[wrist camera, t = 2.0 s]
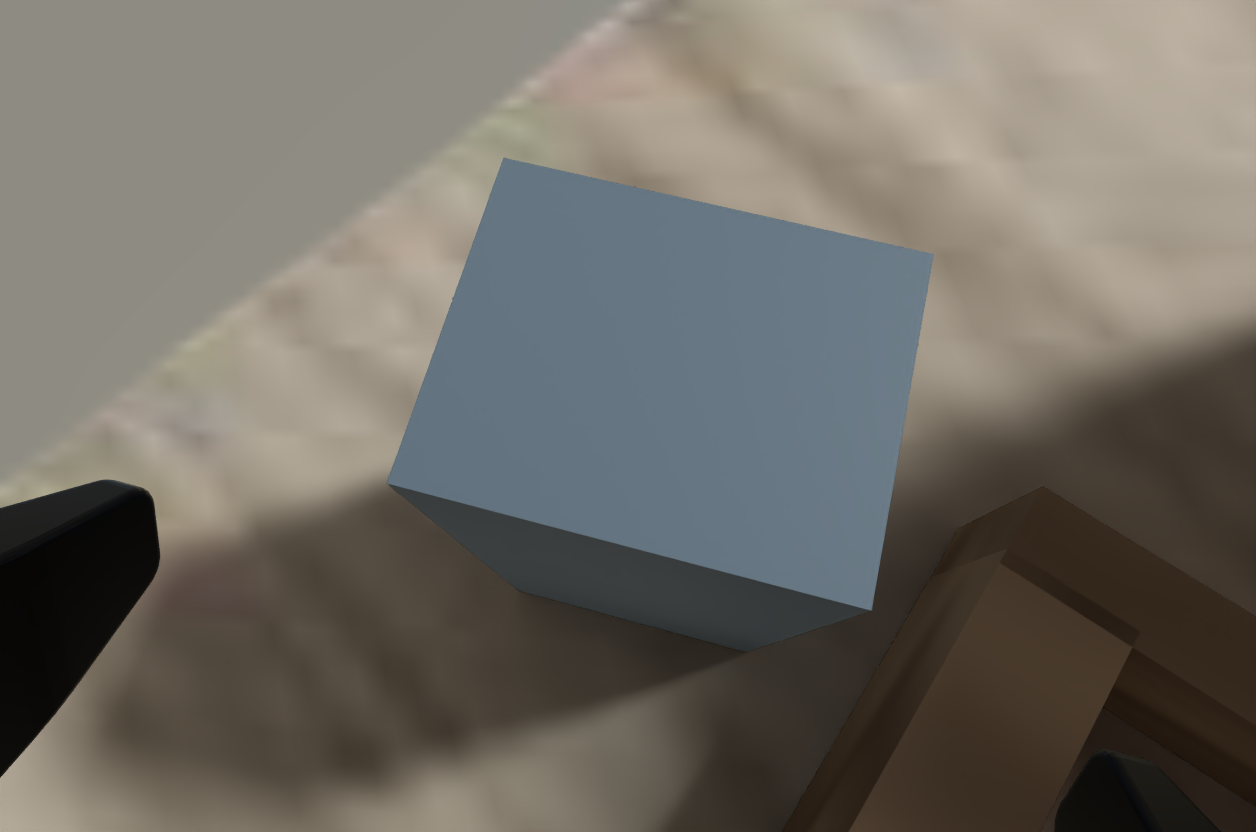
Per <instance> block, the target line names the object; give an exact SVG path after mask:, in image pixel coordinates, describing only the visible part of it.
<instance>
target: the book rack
mask: <svg viewBox="0 0 1256 832" xmlns="http://www.w3.org/2000/svg"><path fill="white" fill-rule="evenodd" d="M1102 707H1105V708H1106V709H1108V710H1109V711H1111V712H1112V713H1114V714H1115V715H1117V716H1118V717H1120V718H1121V719H1123V720H1124V721H1126V722H1128V723H1129V724H1131V725H1132V726H1134V727H1135V728H1137V729H1138V730H1140V731H1141V732H1143V733H1144V734H1146V735H1147V736H1149V737H1150V738H1152V739H1154V740H1155V741H1157V742H1158V743H1160V744H1161V745H1163V746H1164V747H1166V748H1167V749H1169V750H1170V751H1172V752H1173V753H1175V754H1176V755H1178V756H1180V757H1181V758H1183V759H1184V760H1186V761H1187V762H1189V763H1190V764H1192V765H1193V766H1195V767H1196V768H1198V769H1199V770H1201V771H1202V772H1204V773H1206V774H1207V775H1209V776H1210V777H1212V778H1213V779H1215V780H1216V781H1218V782H1219V783H1221V784H1222V785H1224V786H1225V787H1227V788H1228V789H1230V790H1232V791H1233V792H1235V793H1236V794H1238V795H1239V796H1241V797H1242V798H1244V799H1245V800H1247V801H1248V802H1250V803H1251V804H1253V805H1254V806H1256V616H1254V615H1253V614H1251V613H1249V612H1248V611H1246V610H1244V609H1243V608H1241V607H1239V606H1238V605H1236V604H1235V603H1233V602H1231V601H1230V600H1228V599H1226V598H1225V597H1223V596H1221V595H1220V594H1218V593H1217V592H1215V591H1213V590H1212V589H1210V588H1208V587H1207V586H1205V585H1203V584H1202V583H1200V582H1199V581H1197V580H1195V579H1194V578H1192V577H1190V576H1189V575H1187V574H1185V573H1184V572H1182V571H1181V570H1179V569H1177V568H1176V567H1174V566H1172V565H1171V564H1169V563H1167V562H1166V561H1164V560H1163V559H1161V558H1159V557H1158V556H1156V555H1154V554H1153V553H1151V552H1149V551H1148V550H1146V549H1145V548H1143V547H1141V546H1140V545H1138V544H1136V543H1135V542H1133V541H1131V540H1130V539H1128V538H1127V537H1125V536H1123V535H1122V534H1120V533H1118V532H1117V531H1115V530H1113V529H1112V528H1110V527H1109V526H1107V525H1105V524H1104V523H1102V522H1100V521H1099V520H1097V519H1095V518H1094V517H1092V516H1091V515H1089V514H1087V513H1086V512H1084V511H1082V510H1081V509H1079V508H1077V507H1076V506H1074V505H1073V504H1071V503H1069V502H1068V501H1066V500H1064V499H1063V498H1061V497H1059V496H1058V495H1056V494H1055V493H1053V492H1051V491H1050V490H1048V489H1046V488H1045V487H1041V488H1039V489H1036V490H1034V491H1032V492H1030V493H1028V494H1026V495H1024V496H1022V497H1020V498H1018V499H1016V500H1014V501H1012V502H1010V503H1008V504H1006V505H1004V506H1002V507H1000V508H998V509H996V510H994V511H992V512H990V513H988V514H986V515H984V516H982V517H980V518H978V519H976V520H974V521H972V522H970V523H968V524H966V525H964V526H962V527H960V528H959V529H958V531H957V533H956V534H955V536H954V538H953V540H952V541H951V543H950V545H949V546H948V548H947V550H946V552H945V553H944V555H943V557H942V558H941V560H940V562H939V564H938V565H937V567H936V569H935V570H934V572H933V574H932V576H931V577H930V579H929V581H928V582H927V584H926V586H925V588H924V589H923V591H922V593H921V594H920V596H919V598H918V600H917V601H916V603H915V605H914V607H913V608H912V610H911V612H910V613H909V615H908V617H907V619H906V620H905V622H904V624H903V625H902V627H901V629H900V631H899V632H898V634H897V636H896V637H895V639H894V641H893V643H892V644H891V646H890V648H889V649H888V651H887V653H886V655H885V656H884V658H883V660H882V661H881V663H880V665H879V667H878V668H877V670H876V672H875V673H874V675H873V677H872V679H871V680H870V682H869V684H868V685H867V687H866V689H865V691H864V692H863V694H862V696H861V697H860V699H859V701H858V703H857V704H856V706H855V708H854V709H853V711H852V713H851V715H850V716H849V718H848V720H847V721H846V723H845V725H844V727H843V728H842V730H841V732H840V733H839V735H838V737H837V739H836V740H835V742H834V744H833V745H832V747H831V749H830V751H829V752H828V754H827V756H826V757H825V759H824V761H823V763H822V764H821V766H820V768H819V769H818V771H817V773H816V775H815V776H814V778H813V780H812V781H811V783H810V785H809V787H808V788H807V790H806V792H805V793H804V795H803V797H802V799H801V800H800V802H799V804H798V805H797V807H796V809H795V811H794V812H793V814H792V816H791V817H790V819H789V821H788V823H787V824H786V826H785V828H784V829H783V831H782V832H1040V831H1041V829H1042V827H1043V825H1044V823H1045V821H1046V819H1047V817H1048V815H1049V813H1050V811H1051V809H1052V807H1053V805H1054V803H1055V801H1056V799H1057V797H1058V795H1059V793H1060V791H1061V789H1062V787H1063V785H1064V783H1065V781H1066V779H1067V777H1068V775H1069V773H1070V771H1071V769H1072V767H1073V765H1074V763H1075V761H1076V759H1077V757H1078V755H1079V753H1080V751H1081V749H1082V747H1083V745H1084V743H1085V741H1086V739H1087V737H1088V735H1089V733H1090V731H1091V729H1092V727H1093V725H1094V723H1095V721H1096V719H1097V717H1098V715H1099V713H1100V711H1101V709H1102Z"/></svg>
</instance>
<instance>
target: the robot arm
mask: <svg viewBox="0 0 1256 832" xmlns="http://www.w3.org/2000/svg"><path fill="white" fill-rule="evenodd" d="M159 561H160V548H159V540H158V531H157V523H156V515H155V506H154V501H153V498H152V496H151V495H150V493H149V492H148V491H147V490H145V489H144V488H141V487H138V486H134V485H130V484H126V483H123V482H119V481H115V480H99V481H96V482H92V483H88V484H85V485H81V486H78V487H74V488H71V489H67V490H63V491H60V492H56V493H53V494H49V495H46V496H42V497H38V498H35V499H31V500H28V501H24V502H21V503H17V504H13V505H10V506H6V507H3V508H0V778H1V776H2V775H3V774H4V773H5V772H6V771H7V770H8V768H9V767H10V766H11V765H12V764H13V763H14V762H15V760H16V759H17V758H18V757H19V756H20V755H21V754H22V752H23V751H24V750H25V749H26V748H27V747H28V746H29V744H30V743H31V742H32V741H33V740H34V739H35V738H36V736H37V735H38V734H39V733H40V732H41V730H42V729H43V728H44V727H45V726H46V724H47V723H48V722H49V721H50V720H51V718H52V717H53V716H54V715H55V714H56V712H57V711H58V710H59V708H60V707H61V706H62V705H63V703H64V702H65V701H66V699H67V698H68V697H69V695H70V694H71V693H72V692H73V690H74V689H75V687H76V686H77V685H78V683H79V682H80V681H81V679H82V678H83V676H84V675H85V674H86V672H87V671H88V669H89V668H90V667H91V665H92V664H93V662H94V661H95V660H96V658H97V657H98V656H99V654H100V653H101V651H102V650H103V649H104V647H105V646H106V644H107V643H108V642H109V640H110V639H111V637H112V636H113V635H114V633H115V632H116V631H117V629H118V628H119V626H120V625H121V624H122V622H123V621H124V619H125V618H126V617H127V615H128V614H129V612H130V611H131V610H132V608H133V607H134V605H135V604H136V603H137V601H138V600H139V599H140V597H141V596H142V594H143V593H144V592H145V590H146V589H147V587H148V586H149V585H150V583H151V582H152V580H153V578H154V576H155V574H156V572H157V569H158V566H159ZM1054 832H1221V831H1220V830H1219V829H1218V828H1217V827H1216V826H1215V825H1214V824H1213V823H1212V822H1211V821H1210V820H1209V819H1208V818H1207V817H1206V816H1205V815H1204V814H1203V813H1202V812H1201V811H1200V810H1199V808H1198V807H1197V806H1196V805H1195V804H1194V803H1193V802H1192V801H1191V800H1190V799H1189V798H1188V797H1187V796H1186V795H1185V794H1184V793H1183V792H1182V791H1181V790H1180V789H1179V788H1178V787H1177V786H1176V785H1175V784H1174V783H1173V782H1172V781H1171V780H1170V779H1169V778H1168V777H1167V775H1166V774H1165V773H1164V772H1163V771H1162V770H1161V769H1160V768H1159V767H1157V766H1156V765H1155V764H1154V763H1152V762H1151V761H1149V760H1147V759H1144V758H1141V757H1137V756H1134V755H1130V754H1126V753H1122V752H1119V751H1115V750H1111V749H1101V750H1099V751H1097V752H1095V753H1094V754H1093V755H1092V756H1091V757H1090V759H1089V760H1088V762H1087V763H1086V765H1085V766H1084V768H1083V770H1082V771H1081V773H1080V774H1079V776H1078V777H1077V779H1076V780H1075V782H1074V784H1073V785H1072V787H1071V788H1070V790H1069V791H1068V793H1067V794H1066V796H1065V797H1064V799H1063V801H1062V802H1061V804H1060V806H1059V808H1058V811H1057V814H1056V819H1055V828H1054Z"/></svg>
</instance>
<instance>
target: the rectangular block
mask: <svg viewBox="0 0 1256 832" xmlns="http://www.w3.org/2000/svg"><path fill="white" fill-rule="evenodd" d="M933 255H934V254H931V253H926V252H922V251H917V250H913V249H909V248H904V247H900V246H895V245H891V244H886V243H882V242H877V241H873V240H868V239H864V238H859V237H855V236H850V235H846V234H842V233H837V232H833V231H828V230H824V229H819V228H815V227H810V226H806V225H801V224H797V223H792V222H788V221H784V220H779V219H775V218H770V217H766V216H761V215H757V214H752V213H748V212H743V211H739V210H734V209H730V208H726V207H721V206H717V205H712V204H708V203H703V202H699V201H694V200H690V199H685V198H681V197H676V196H672V195H668V194H663V193H659V192H654V191H650V190H645V189H641V188H636V187H632V186H627V185H623V184H618V183H614V182H610V181H605V180H601V179H596V178H592V177H587V176H583V175H578V174H574V173H569V172H565V171H560V170H556V169H551V168H547V167H543V166H538V165H534V164H529V163H525V162H520V161H516V160H511V159H507V158H503V161H502V163H501V166H500V169H499V172H498V174H497V177H496V180H495V183H494V186H493V188H492V191H491V194H490V197H489V200H488V202H487V205H486V208H485V211H484V214H483V216H482V219H481V222H480V225H479V227H478V230H477V233H476V236H475V239H474V241H473V244H472V247H471V250H470V253H469V255H468V258H467V261H466V264H465V266H464V269H463V272H462V275H461V278H460V280H459V283H458V286H457V289H456V292H455V294H454V297H453V300H452V303H451V306H450V308H449V311H448V314H447V317H446V319H445V322H444V325H443V328H442V331H441V333H440V336H439V339H438V342H437V345H436V347H435V350H434V353H433V356H432V359H431V361H430V364H429V367H428V370H427V372H426V375H425V378H424V381H423V384H422V386H421V389H420V392H419V395H418V398H417V400H416V403H415V406H414V409H413V412H412V414H411V417H410V420H409V423H408V425H407V428H406V431H405V434H404V437H403V439H402V442H401V445H400V448H399V451H398V453H397V456H396V459H395V462H394V465H393V467H392V470H391V473H390V476H389V478H388V481H387V484H388V485H389V486H391V487H392V488H393V489H394V490H396V491H397V492H398V493H399V494H400V495H402V496H403V497H404V498H405V499H407V500H408V501H409V502H410V503H411V504H413V505H414V506H415V507H416V508H418V509H419V510H420V511H421V512H422V513H424V514H425V515H426V516H427V517H429V518H430V519H431V520H432V521H433V522H435V523H436V524H437V525H438V526H440V527H441V528H442V529H443V530H444V531H446V532H447V533H448V534H449V535H451V536H452V537H453V538H454V539H456V540H457V541H458V542H459V543H460V544H462V545H463V546H464V547H465V548H467V549H468V550H469V551H470V552H471V553H473V554H474V555H475V556H476V557H478V558H479V559H480V560H481V561H482V562H484V563H485V564H486V565H487V566H489V567H490V568H491V569H492V570H493V571H495V572H496V573H497V574H498V575H500V576H501V577H502V578H503V579H504V580H506V581H507V582H508V583H509V584H511V585H512V586H513V587H514V588H515V589H517V590H518V591H522V592H526V593H529V594H533V595H537V596H540V597H544V598H548V599H551V600H555V601H559V602H563V603H566V604H570V605H574V606H577V607H581V608H585V609H588V610H592V611H596V612H600V613H603V614H607V615H611V616H614V617H618V618H622V619H625V620H629V621H633V622H636V623H640V624H644V625H648V626H651V627H655V628H659V629H662V630H666V631H670V632H673V633H677V634H681V635H685V636H688V637H692V638H696V639H699V640H703V641H707V642H710V643H714V644H718V645H722V646H725V647H729V648H733V649H736V650H740V651H744V652H748V651H751V650H754V649H757V648H760V647H763V646H766V645H769V644H772V643H775V642H778V641H781V640H784V639H787V638H790V637H794V636H797V635H800V634H803V633H806V632H809V631H812V630H815V629H818V628H821V627H824V626H827V625H830V624H833V623H836V622H839V621H842V620H845V619H848V618H851V617H854V616H857V615H860V614H863V613H866V612H869V611H872V605H873V600H874V594H875V588H876V582H877V577H878V571H879V565H880V559H881V554H882V548H883V542H884V536H885V531H886V525H887V519H888V513H889V508H890V502H891V496H892V490H893V485H894V479H895V473H896V467H897V462H898V456H899V450H900V444H901V439H902V433H903V427H904V421H905V416H906V410H907V404H908V398H909V393H910V387H911V381H912V375H913V370H914V364H915V358H916V352H917V347H918V341H919V335H920V329H921V324H922V318H923V312H924V306H925V301H926V295H927V289H928V283H929V278H930V272H931V266H932V260H933Z"/></svg>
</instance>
